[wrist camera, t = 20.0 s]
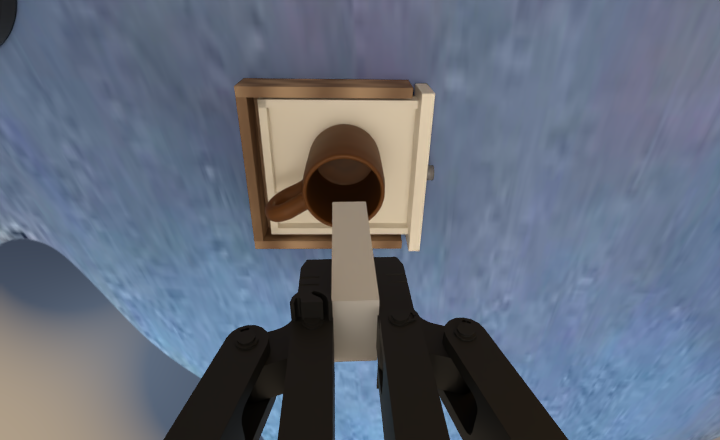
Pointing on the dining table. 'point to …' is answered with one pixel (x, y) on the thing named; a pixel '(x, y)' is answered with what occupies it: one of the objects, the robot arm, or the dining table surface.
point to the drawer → (388, 129)
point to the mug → (334, 177)
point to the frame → (253, 152)
